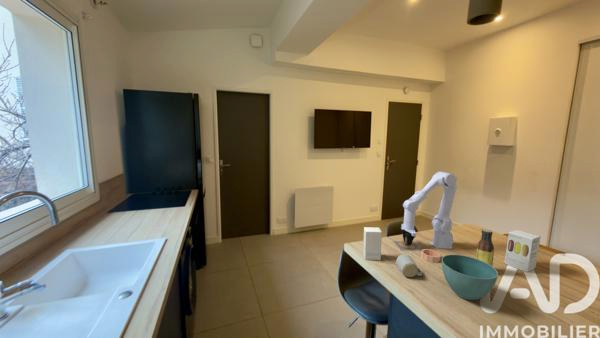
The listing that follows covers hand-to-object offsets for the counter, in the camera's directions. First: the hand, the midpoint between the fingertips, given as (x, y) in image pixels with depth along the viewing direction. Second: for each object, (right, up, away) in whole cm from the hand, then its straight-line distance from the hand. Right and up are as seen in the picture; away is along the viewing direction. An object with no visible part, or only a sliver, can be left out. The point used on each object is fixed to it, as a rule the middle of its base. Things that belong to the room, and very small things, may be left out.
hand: (407, 243), depth 136 cm
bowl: (+6, -4, -14) cm, 15 cm away
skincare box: (-25, -4, -13) cm, 29 cm away
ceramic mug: (-12, -6, -27) cm, 30 cm away
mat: (0, -2, 0) cm, 2 cm away
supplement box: (+48, -6, -19) cm, 52 cm away
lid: (0, -2, 0) cm, 2 cm away
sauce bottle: (+26, -6, -24) cm, 35 cm away
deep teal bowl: (+4, -8, -41) cm, 42 cm away
